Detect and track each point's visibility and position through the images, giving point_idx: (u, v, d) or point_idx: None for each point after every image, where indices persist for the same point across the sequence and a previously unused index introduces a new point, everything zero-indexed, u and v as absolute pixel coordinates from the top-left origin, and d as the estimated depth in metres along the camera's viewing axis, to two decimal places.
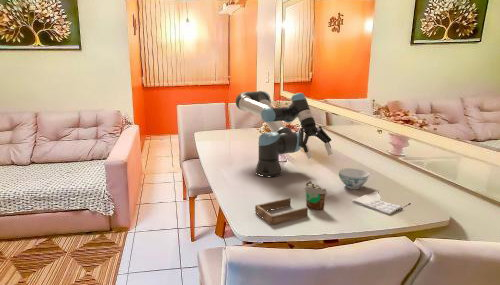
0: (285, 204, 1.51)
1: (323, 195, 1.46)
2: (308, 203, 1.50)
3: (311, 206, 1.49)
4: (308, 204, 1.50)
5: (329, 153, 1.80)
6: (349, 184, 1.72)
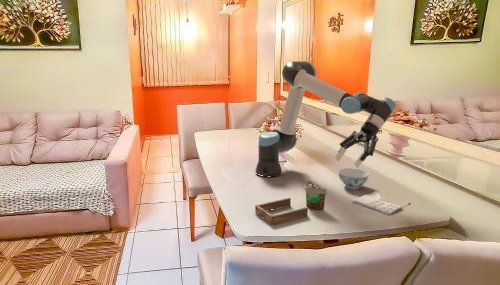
0: (285, 204, 1.51)
1: (323, 195, 1.46)
2: (308, 203, 1.50)
3: (311, 206, 1.49)
4: (308, 204, 1.50)
5: (338, 158, 1.62)
6: (349, 184, 1.72)
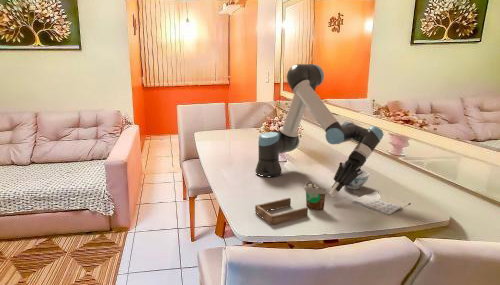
0: (285, 204, 1.51)
1: (323, 195, 1.46)
2: (308, 203, 1.50)
3: (311, 206, 1.49)
4: (308, 204, 1.50)
5: None
6: (349, 184, 1.72)
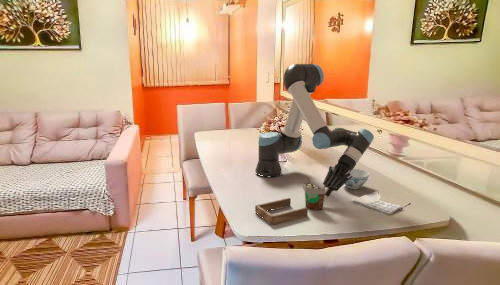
0: (285, 204, 1.51)
1: (322, 195, 1.46)
2: (307, 203, 1.50)
3: (310, 206, 1.49)
4: (307, 204, 1.50)
5: None
6: (349, 184, 1.72)
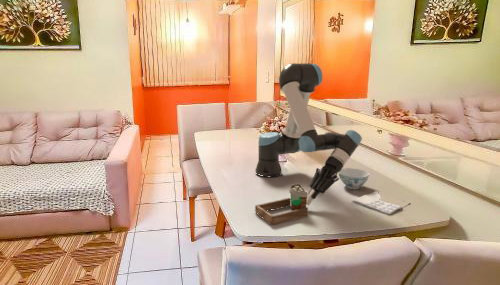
0: (285, 204, 1.51)
1: (304, 198, 1.43)
2: (291, 205, 1.48)
3: (293, 208, 1.47)
4: (291, 206, 1.48)
5: None
6: (349, 184, 1.72)
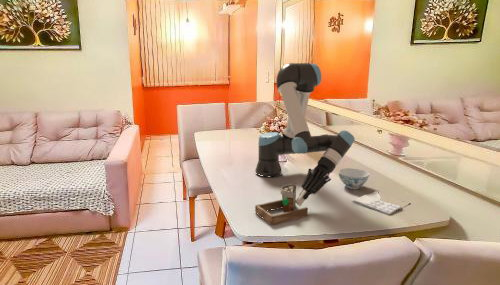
0: None
1: (291, 199, 1.42)
2: None
3: (283, 208, 1.47)
4: None
5: None
6: (349, 184, 1.72)
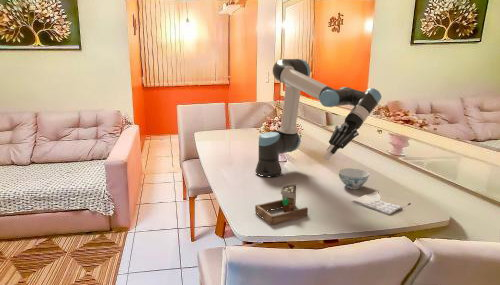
0: None
1: (291, 199, 1.42)
2: None
3: (283, 208, 1.47)
4: None
5: None
6: (349, 184, 1.72)
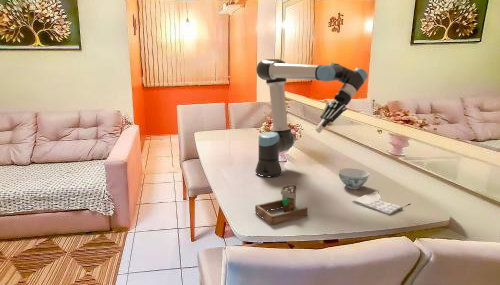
0: None
1: (291, 199, 1.42)
2: None
3: (283, 208, 1.47)
4: None
5: None
6: (349, 184, 1.72)
